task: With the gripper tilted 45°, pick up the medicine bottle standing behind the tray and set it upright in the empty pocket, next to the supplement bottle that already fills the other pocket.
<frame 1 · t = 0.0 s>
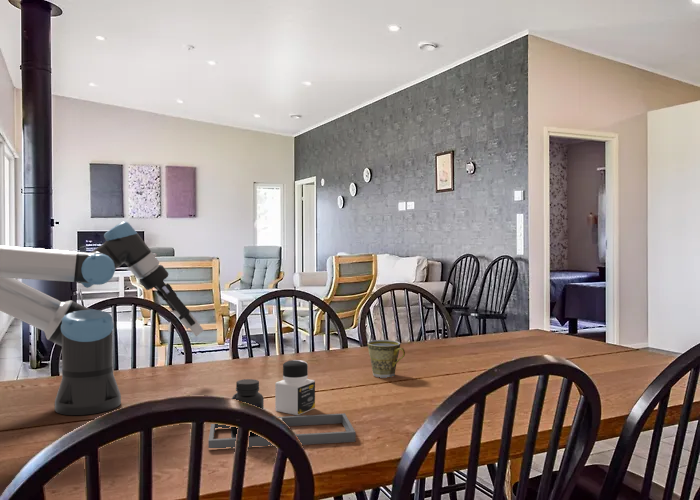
hand: (195, 329, 173), 15 cm above the table, tool tilted 35°, fingers open, 13 cm apart
ceramic cup: (387, 376, 181), on the table
supplement bottle: (247, 438, 127), resting in tray
tray: (281, 435, 128), on the table
medicine bottle: (295, 410, 147), on the table
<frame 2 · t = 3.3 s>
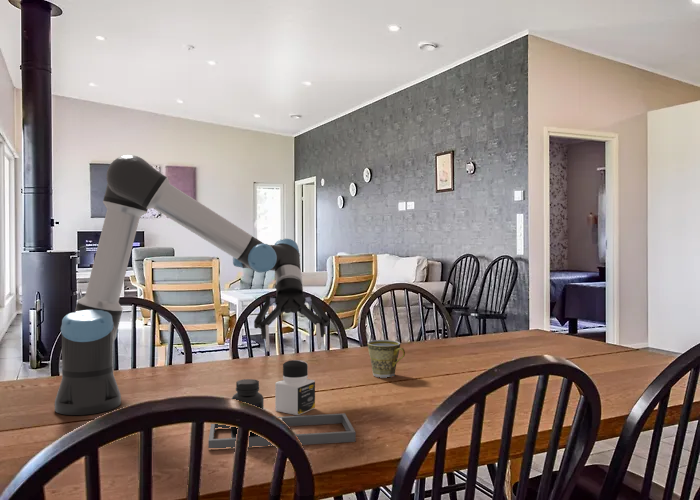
hand: (294, 347, 156), 14 cm above the table, tool tilted 45°, fingers open, 13 cm apart
nothing on the table moved.
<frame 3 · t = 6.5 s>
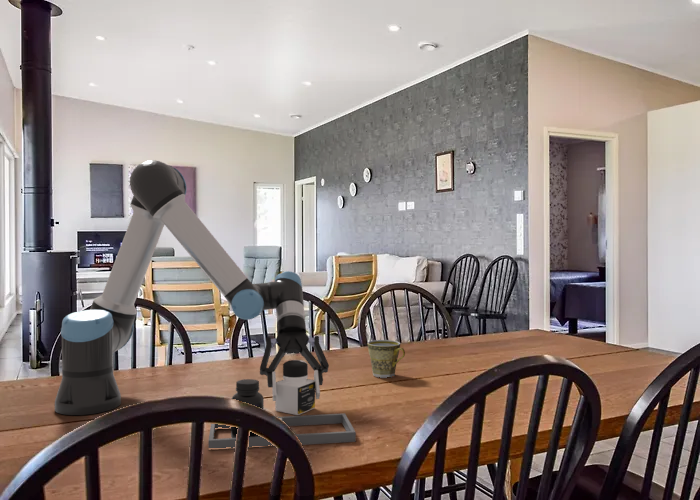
hand: (296, 397, 144), 4 cm above the table, tool tilted 45°, fingers closed on medicine bottle, 10 cm apart
medicine bottle: (295, 410, 147), on the table, touching gripper
everything else where it was.
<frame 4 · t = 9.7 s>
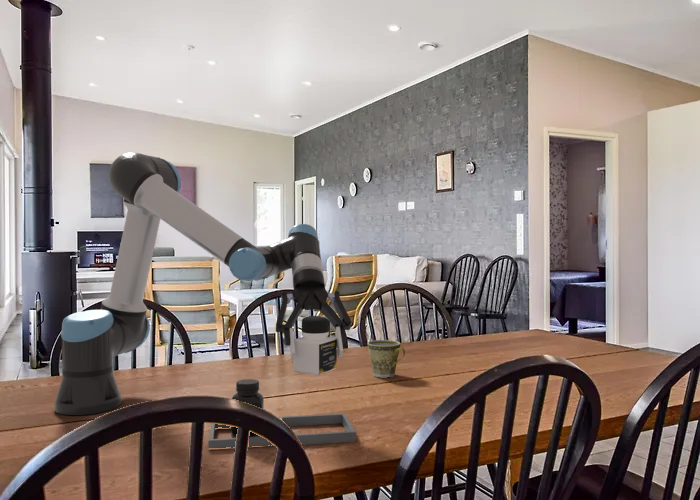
hand: (317, 355, 129), 17 cm above the table, tool tilted 45°, fingers closed on medicine bottle, 10 cm apart
medicine bottle: (315, 371, 133), point 13 cm above the table, touching gripper
everything else where it was.
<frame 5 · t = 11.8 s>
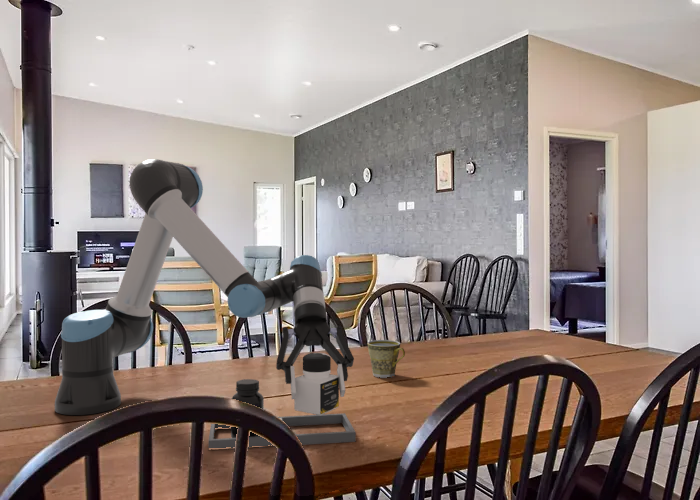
hand: (318, 394, 126), 9 cm above the table, tool tilted 45°, fingers closed on medicine bottle, 10 cm apart
medicine bottle: (316, 409, 130), point 5 cm above the table, touching gripper
everything else where it was.
when the fingers open (6 cm above the table, at t = 13.2 s): medicine bottle drops 2 cm, resting in tray.
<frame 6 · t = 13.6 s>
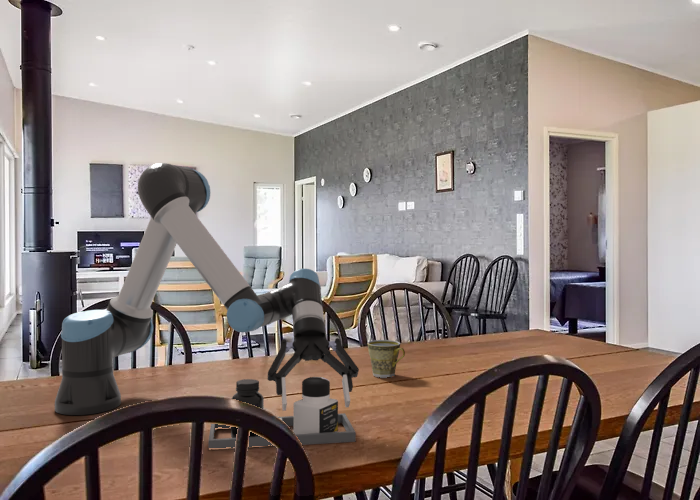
hand: (316, 406, 127), 7 cm above the table, tool tilted 45°, fingers open, 13 cm apart
medicine bottle: (315, 434, 130), resting in tray
everything else where it was.
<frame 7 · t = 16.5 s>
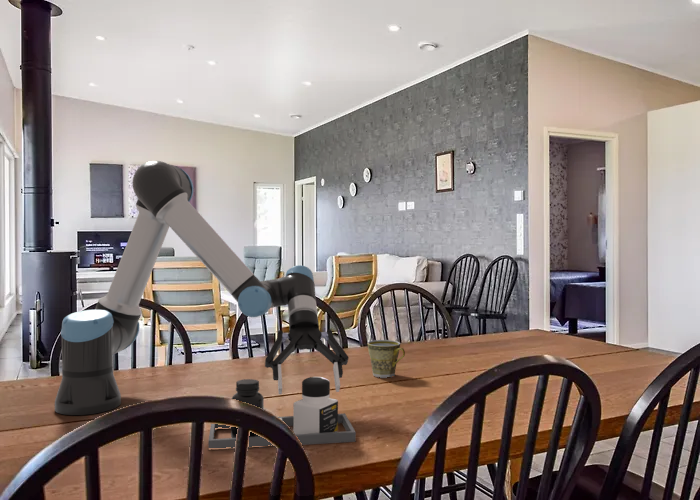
hand: (309, 390, 140), 7 cm above the table, tool tilted 45°, fingers open, 13 cm apart
nothing on the table moved.
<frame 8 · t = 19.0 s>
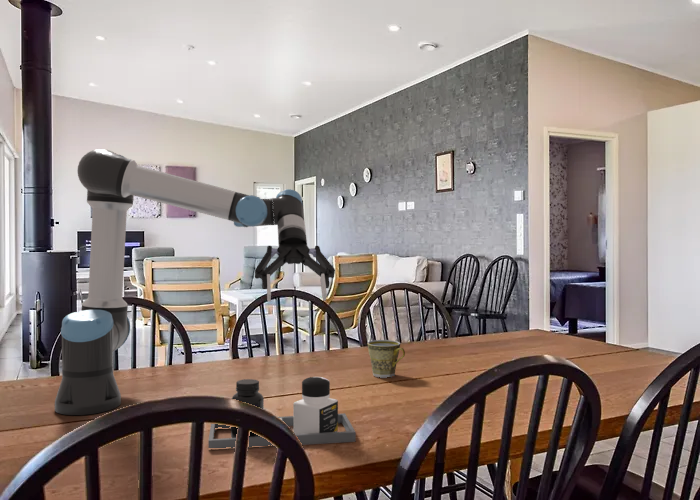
hand: (297, 297, 146), 28 cm above the table, tool tilted 45°, fingers open, 13 cm apart
nothing on the table moved.
at the end: medicine bottle inside the target area on the tray (0.2 cm from its centre), point 0.0 cm above the tray's base; medicine bottle tilted 0°; supplement bottle moved 0.2 cm from its start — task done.
